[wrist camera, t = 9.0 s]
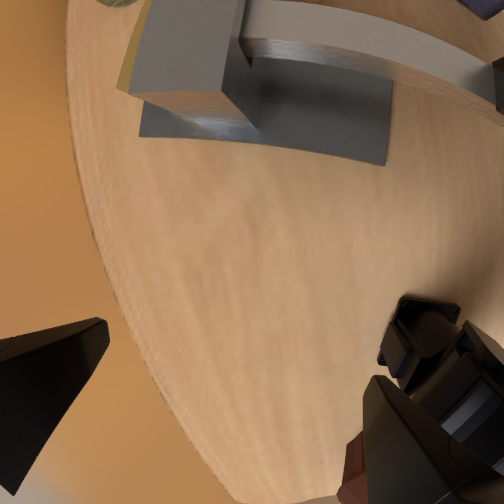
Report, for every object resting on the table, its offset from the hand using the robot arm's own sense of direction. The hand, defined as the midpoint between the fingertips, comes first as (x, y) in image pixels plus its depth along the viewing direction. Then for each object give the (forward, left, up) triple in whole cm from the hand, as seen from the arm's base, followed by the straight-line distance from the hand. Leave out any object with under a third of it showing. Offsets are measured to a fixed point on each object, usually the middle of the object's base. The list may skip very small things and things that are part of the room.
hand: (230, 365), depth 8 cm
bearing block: (+2, -13, -13) cm, 18 cm away
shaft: (-4, -13, -7) cm, 16 cm away
